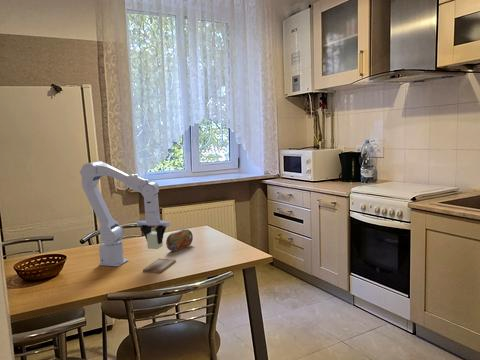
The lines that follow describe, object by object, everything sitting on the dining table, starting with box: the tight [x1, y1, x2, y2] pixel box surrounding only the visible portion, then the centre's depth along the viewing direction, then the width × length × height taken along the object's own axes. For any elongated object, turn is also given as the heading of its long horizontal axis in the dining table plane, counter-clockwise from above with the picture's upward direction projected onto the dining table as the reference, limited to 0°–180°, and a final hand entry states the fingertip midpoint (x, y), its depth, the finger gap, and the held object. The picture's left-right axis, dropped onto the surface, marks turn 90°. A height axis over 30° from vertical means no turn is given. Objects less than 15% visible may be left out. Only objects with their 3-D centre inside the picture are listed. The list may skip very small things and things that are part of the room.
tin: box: [165, 229, 194, 252], centre depth 180 cm, size 15×3×8 cm, turn 143°
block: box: [146, 230, 164, 250], centre depth 161 cm, size 5×5×6 cm
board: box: [142, 257, 177, 274], centre depth 158 cm, size 8×13×2 cm, turn 163°
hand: (154, 243), depth 161 cm, fingers closed on block, 4 cm apart
